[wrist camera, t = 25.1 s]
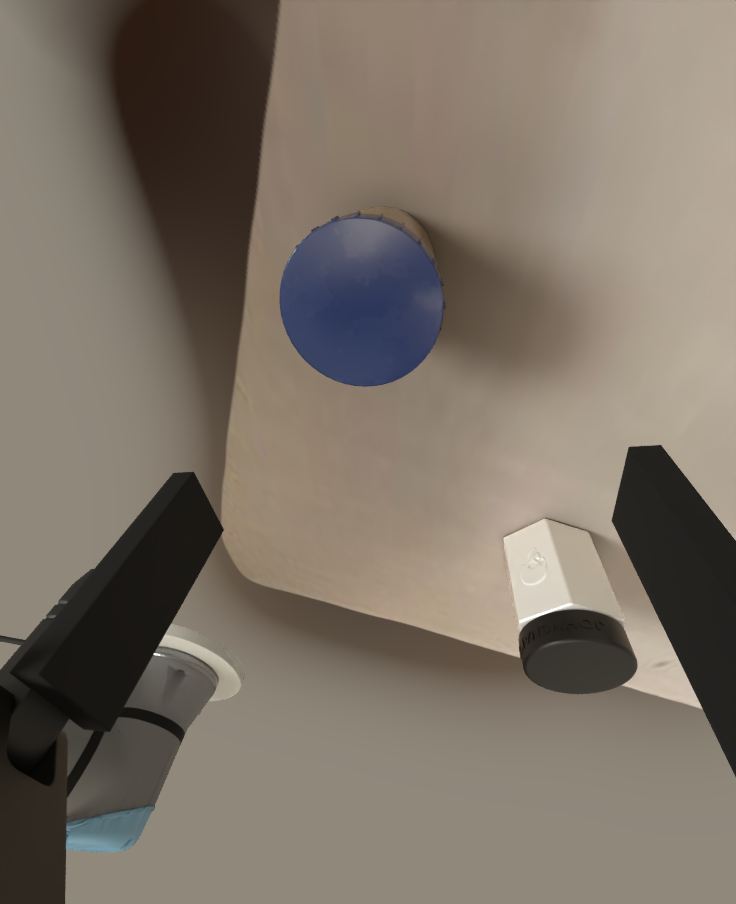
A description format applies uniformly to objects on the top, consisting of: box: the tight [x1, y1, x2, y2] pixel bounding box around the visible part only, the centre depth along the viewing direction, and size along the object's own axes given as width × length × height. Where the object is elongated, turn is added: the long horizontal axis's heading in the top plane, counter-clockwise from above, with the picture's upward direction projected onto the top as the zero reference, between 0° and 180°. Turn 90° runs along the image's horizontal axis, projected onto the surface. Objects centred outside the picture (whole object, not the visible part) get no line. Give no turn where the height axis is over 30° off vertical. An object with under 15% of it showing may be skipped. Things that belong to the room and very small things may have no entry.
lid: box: [280, 211, 445, 386], centre depth 20 cm, size 8×8×2 cm
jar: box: [503, 519, 637, 694], centre depth 36 cm, size 9×8×12 cm
